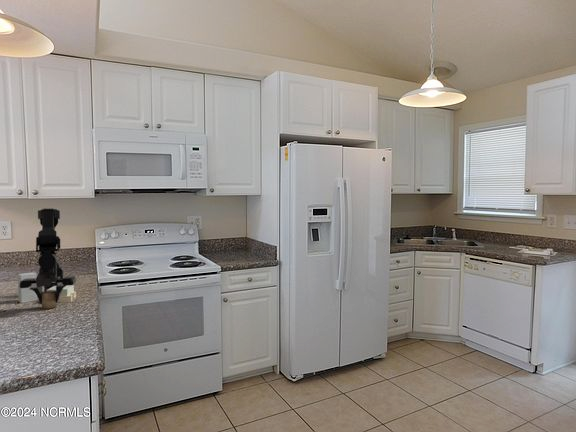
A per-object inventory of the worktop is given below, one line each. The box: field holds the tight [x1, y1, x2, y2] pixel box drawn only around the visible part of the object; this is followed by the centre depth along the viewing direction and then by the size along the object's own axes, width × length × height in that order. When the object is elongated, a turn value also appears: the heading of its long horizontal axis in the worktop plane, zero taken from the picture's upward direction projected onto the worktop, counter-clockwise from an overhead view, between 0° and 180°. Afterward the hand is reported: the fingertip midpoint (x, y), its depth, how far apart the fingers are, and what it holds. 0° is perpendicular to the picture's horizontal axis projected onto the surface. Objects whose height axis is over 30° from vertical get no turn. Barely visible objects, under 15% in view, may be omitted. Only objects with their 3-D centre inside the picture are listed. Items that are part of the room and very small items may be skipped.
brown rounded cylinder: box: [41, 291, 57, 310], centre depth 154 cm, size 5×5×6 cm
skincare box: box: [17, 271, 38, 304], centre depth 165 cm, size 6×4×12 cm
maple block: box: [56, 290, 77, 304], centre depth 167 cm, size 10×10×3 cm
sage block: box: [47, 284, 75, 296], centre depth 167 cm, size 8×8×3 cm
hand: (49, 303), depth 154 cm, fingers closed on brown rounded cylinder, 5 cm apart
